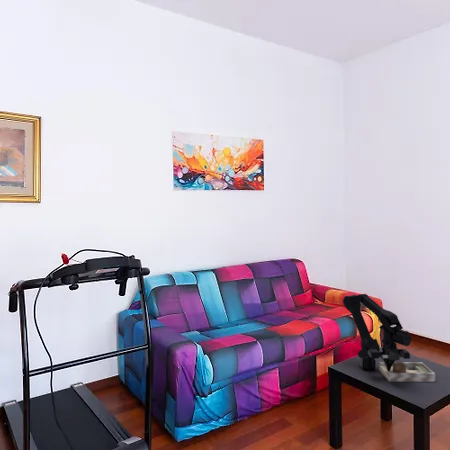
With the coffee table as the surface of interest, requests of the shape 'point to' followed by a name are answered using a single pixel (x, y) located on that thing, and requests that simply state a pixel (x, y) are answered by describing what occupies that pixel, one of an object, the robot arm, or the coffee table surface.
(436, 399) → the coffee table surface
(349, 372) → the coffee table surface
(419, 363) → the grey slotted tray
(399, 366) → the walnut block
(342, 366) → the coffee table surface
